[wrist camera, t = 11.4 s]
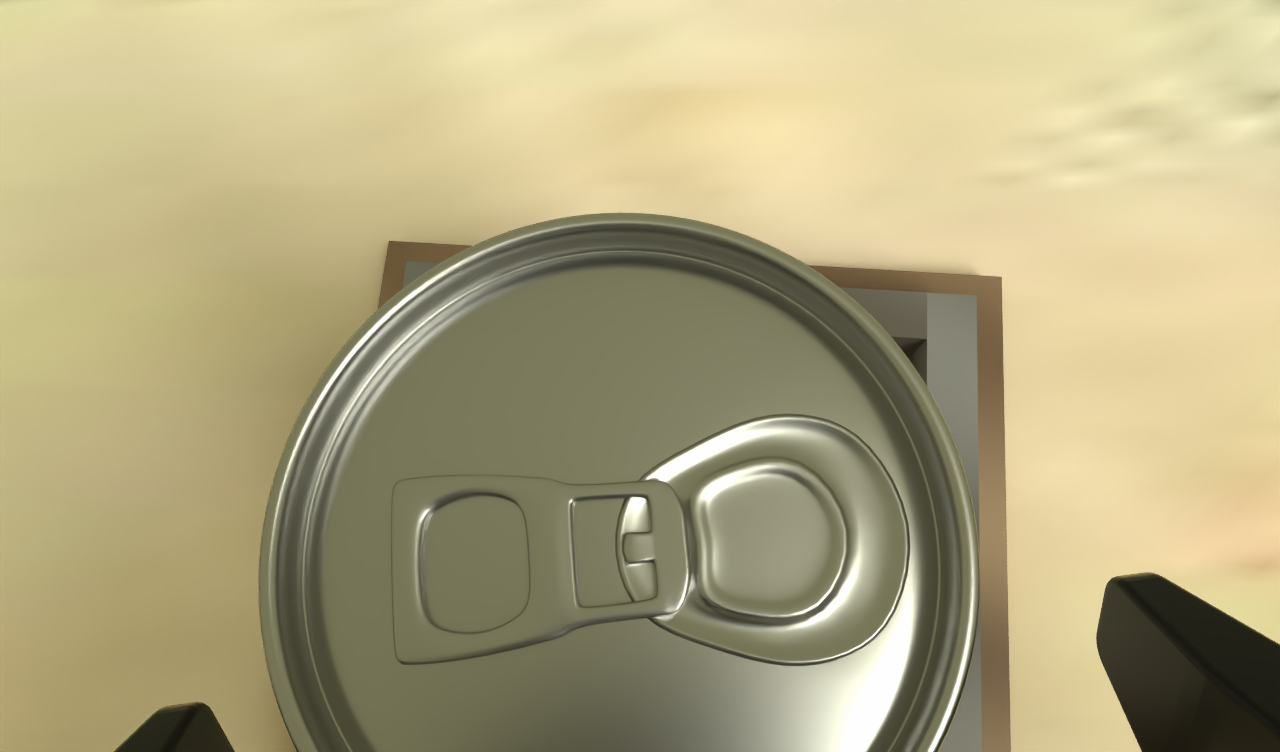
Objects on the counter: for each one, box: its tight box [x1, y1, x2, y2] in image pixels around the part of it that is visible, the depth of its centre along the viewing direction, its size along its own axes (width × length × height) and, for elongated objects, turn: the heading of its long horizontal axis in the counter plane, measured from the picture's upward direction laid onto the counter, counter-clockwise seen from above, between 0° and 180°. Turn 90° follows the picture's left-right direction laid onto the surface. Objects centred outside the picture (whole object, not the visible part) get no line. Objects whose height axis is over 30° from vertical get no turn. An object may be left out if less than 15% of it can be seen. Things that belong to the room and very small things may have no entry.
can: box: [259, 213, 980, 752], centre depth 13 cm, size 6×6×12 cm
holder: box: [378, 241, 1011, 752], centre depth 18 cm, size 14×14×2 cm
